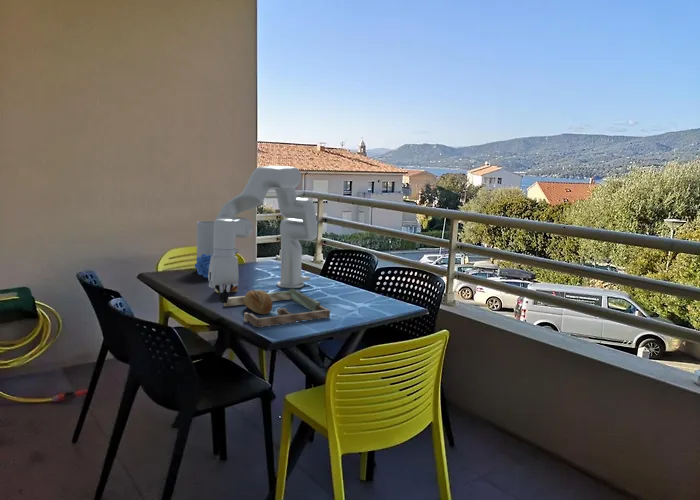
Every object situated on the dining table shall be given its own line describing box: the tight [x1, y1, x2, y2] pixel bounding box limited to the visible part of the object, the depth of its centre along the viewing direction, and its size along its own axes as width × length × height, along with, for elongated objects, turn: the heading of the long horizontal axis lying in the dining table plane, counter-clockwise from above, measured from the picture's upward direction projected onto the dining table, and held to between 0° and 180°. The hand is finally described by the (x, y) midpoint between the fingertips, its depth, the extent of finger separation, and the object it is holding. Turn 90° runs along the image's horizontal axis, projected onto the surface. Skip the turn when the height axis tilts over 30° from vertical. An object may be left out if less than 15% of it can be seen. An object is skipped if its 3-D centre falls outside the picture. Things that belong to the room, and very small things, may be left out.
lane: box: [223, 288, 321, 323], centre depth 191 cm, size 30×23×4 cm
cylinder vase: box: [196, 220, 215, 271], centre depth 252 cm, size 12×12×25 cm
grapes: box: [194, 254, 212, 279], centre depth 236 cm, size 12×7×12 cm, turn 132°
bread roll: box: [243, 289, 274, 315], centre depth 188 cm, size 10×15×8 cm, turn 35°
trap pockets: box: [248, 304, 331, 328], centre depth 179 cm, size 29×8×3 cm, turn 123°
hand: (223, 302), depth 180 cm, fingers closed
